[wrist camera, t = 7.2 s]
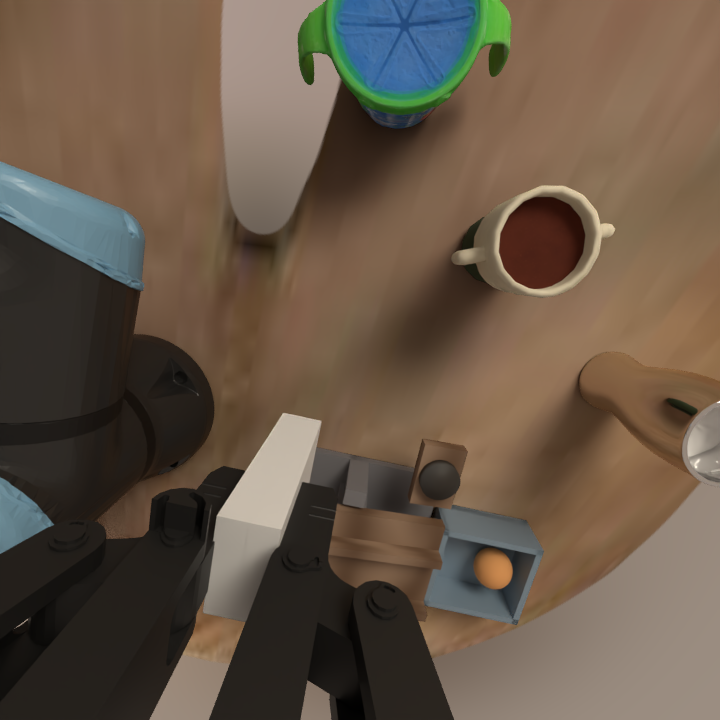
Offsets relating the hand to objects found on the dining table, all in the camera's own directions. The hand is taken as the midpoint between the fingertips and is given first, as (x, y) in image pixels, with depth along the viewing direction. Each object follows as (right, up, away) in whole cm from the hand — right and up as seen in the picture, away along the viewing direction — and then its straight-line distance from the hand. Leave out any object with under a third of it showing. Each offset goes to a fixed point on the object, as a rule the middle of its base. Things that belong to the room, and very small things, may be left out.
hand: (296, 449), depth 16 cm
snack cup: (+6, +28, +21) cm, 35 cm away
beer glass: (+28, +1, +26) cm, 38 cm away
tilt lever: (+1, -12, +25) cm, 28 cm away
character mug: (+15, +14, +23) cm, 31 cm away
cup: (+15, -18, +31) cm, 38 cm away
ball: (+17, -19, +28) cm, 37 cm away
